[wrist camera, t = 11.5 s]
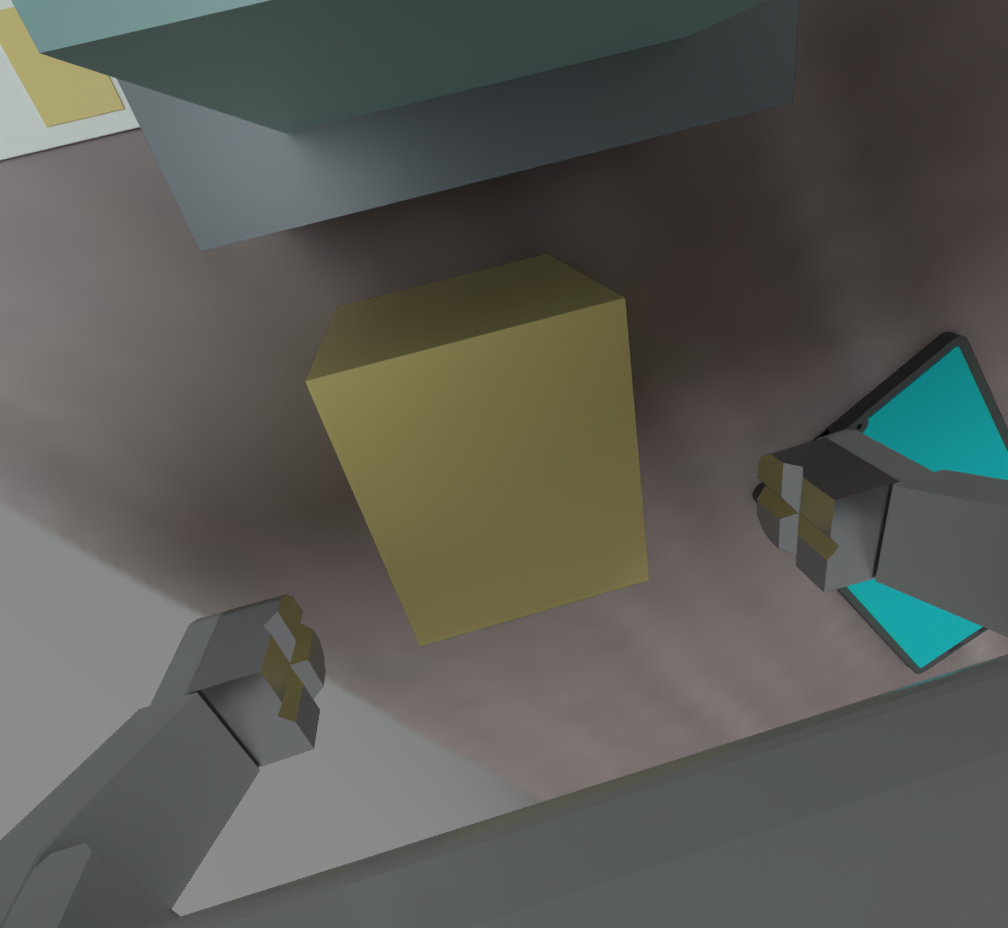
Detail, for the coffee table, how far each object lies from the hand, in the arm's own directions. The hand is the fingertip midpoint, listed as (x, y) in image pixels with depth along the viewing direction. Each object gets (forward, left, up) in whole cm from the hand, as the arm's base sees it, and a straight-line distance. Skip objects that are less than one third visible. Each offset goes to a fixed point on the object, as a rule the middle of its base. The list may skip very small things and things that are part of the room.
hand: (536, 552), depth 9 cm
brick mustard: (-1, 0, -6) cm, 6 cm away
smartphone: (+9, +15, -6) cm, 19 cm away
